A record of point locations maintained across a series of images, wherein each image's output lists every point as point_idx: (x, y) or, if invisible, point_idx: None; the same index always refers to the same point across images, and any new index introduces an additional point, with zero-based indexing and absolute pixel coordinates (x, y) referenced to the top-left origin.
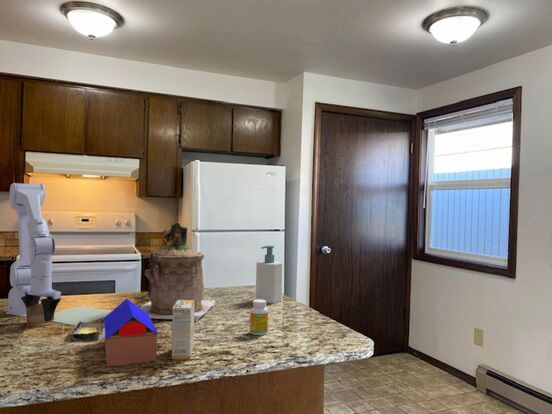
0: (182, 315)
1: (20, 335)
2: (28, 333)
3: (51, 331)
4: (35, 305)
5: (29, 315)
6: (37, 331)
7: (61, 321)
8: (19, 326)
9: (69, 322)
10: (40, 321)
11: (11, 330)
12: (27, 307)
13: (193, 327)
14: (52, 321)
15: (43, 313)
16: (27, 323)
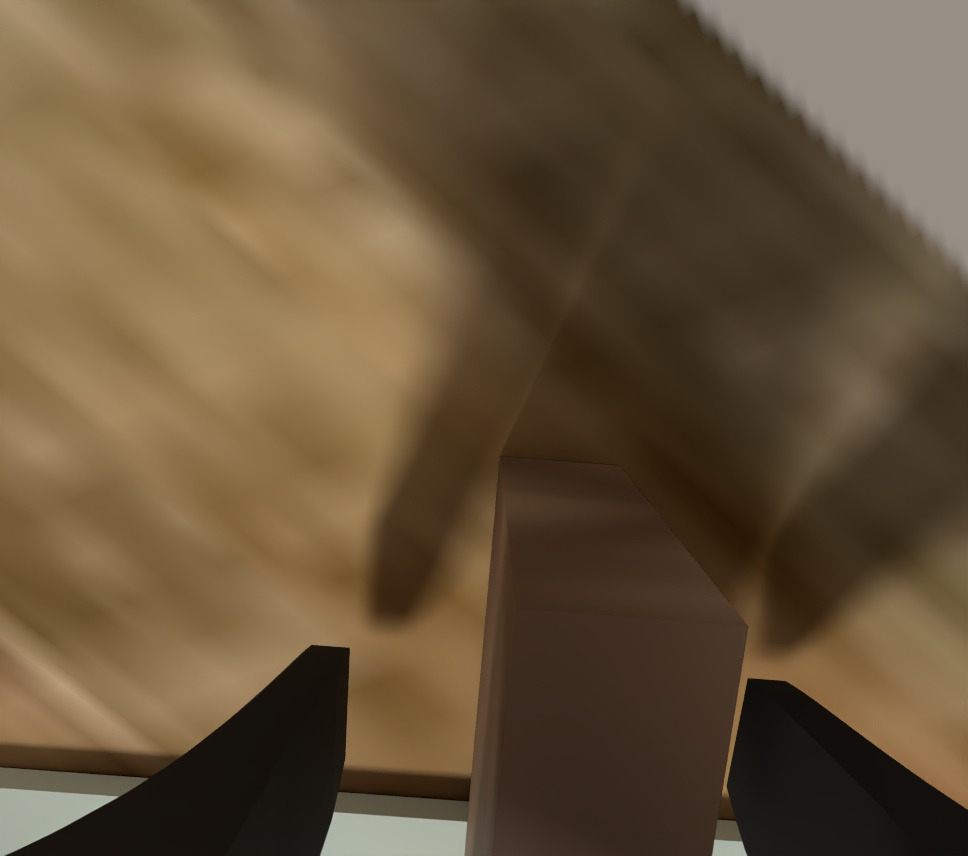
0: None
1: (302, 29)
2: (277, 190)
3: (24, 436)
4: None
5: (568, 535)
6: (239, 346)
7: None
8: (786, 454)
9: None
10: (483, 655)
11: (726, 212)
12: (726, 667)
13: None
14: (440, 813)
15: (477, 815)
16: (617, 483)
